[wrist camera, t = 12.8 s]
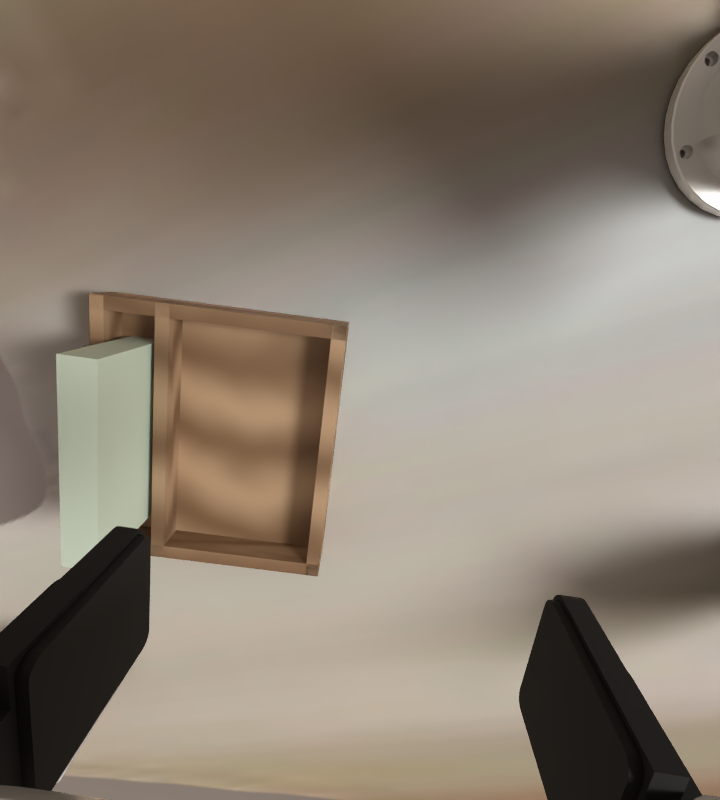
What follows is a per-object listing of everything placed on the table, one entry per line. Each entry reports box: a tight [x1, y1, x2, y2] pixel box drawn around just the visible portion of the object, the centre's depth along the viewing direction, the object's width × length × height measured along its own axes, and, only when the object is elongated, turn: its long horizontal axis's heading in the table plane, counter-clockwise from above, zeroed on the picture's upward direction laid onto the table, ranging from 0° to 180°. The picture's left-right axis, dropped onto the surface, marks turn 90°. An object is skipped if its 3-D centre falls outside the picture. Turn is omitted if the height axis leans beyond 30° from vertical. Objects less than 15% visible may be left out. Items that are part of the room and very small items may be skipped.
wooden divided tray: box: [83, 292, 349, 576], centre depth 37 cm, size 20×19×4 cm
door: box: [56, 336, 155, 568], centre depth 33 cm, size 14×2×9 cm, turn 172°
